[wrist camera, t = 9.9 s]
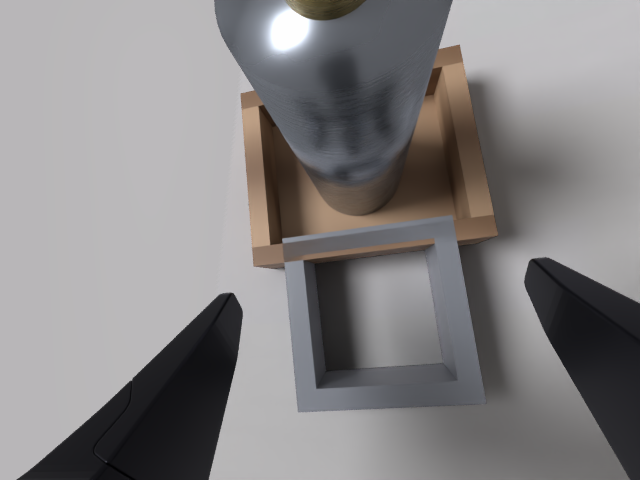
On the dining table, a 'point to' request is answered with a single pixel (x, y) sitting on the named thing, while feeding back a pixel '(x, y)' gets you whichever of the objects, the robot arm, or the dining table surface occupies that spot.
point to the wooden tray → (407, 203)
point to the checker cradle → (387, 382)
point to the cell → (340, 84)
